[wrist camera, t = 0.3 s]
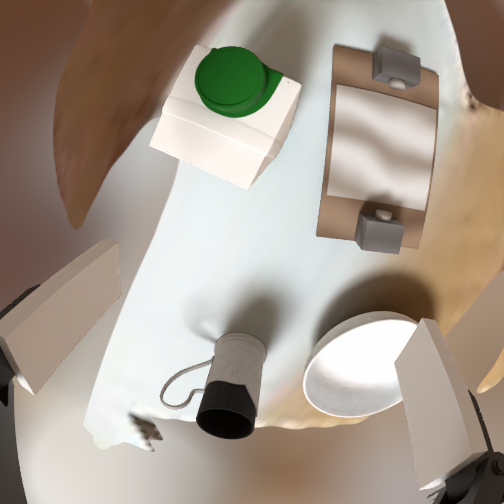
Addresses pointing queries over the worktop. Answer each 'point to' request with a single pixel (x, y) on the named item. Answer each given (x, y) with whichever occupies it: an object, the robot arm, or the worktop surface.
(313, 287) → the worktop surface
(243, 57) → the soya milk
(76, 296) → the robot arm
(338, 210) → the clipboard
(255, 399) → the white pitcher
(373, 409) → the serving bowl
